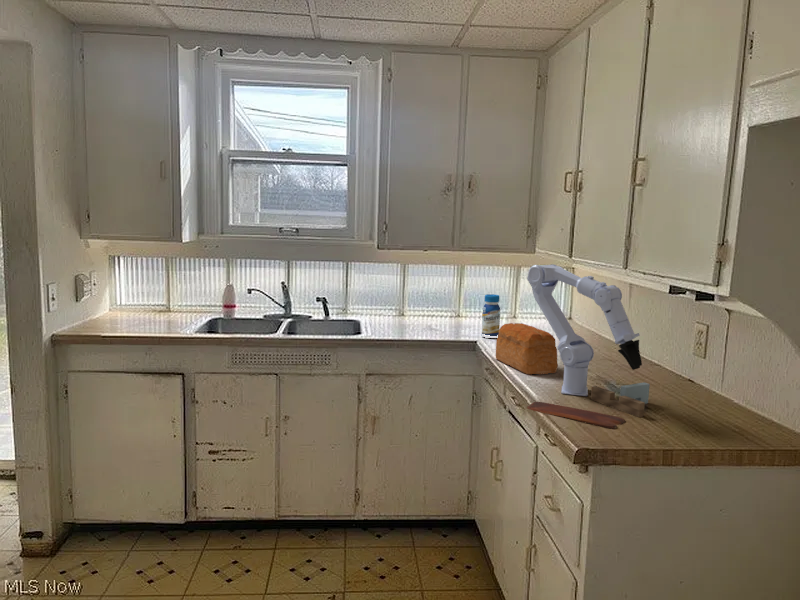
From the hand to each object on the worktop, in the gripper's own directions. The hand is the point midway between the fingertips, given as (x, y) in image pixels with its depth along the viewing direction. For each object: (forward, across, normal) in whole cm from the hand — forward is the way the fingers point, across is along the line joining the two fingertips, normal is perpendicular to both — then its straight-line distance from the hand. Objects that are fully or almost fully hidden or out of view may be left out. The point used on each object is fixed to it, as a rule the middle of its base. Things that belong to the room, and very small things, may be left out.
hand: (637, 367), depth 169 cm
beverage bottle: (-40, +89, +47) cm, 108 cm away
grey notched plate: (+9, +10, +4) cm, 14 cm away
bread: (-16, +43, +33) cm, 57 cm away
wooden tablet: (+8, -6, +22) cm, 24 cm away
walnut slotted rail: (+9, +5, +9) cm, 14 cm away
